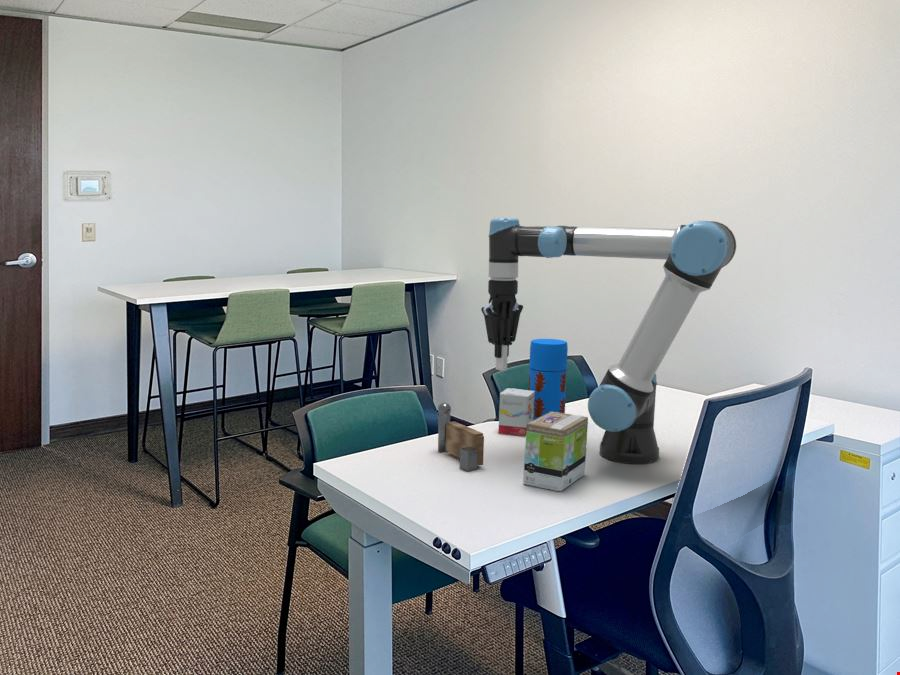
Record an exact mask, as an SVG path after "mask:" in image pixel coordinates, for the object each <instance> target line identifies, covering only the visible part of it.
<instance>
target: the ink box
mask: <svg viewBox="0 0 900 675" xmlns="http://www.w3.org/2000/svg"><path fill="white" fill-rule="evenodd" d="M534 397H535V391H530V390H529V389H521V388H520V389H519V388H511V387H510V388H509V387H507V388H505V389H504V390H503V391H501V392H500V393H499V406H498V408H499V410H498V434H500V435H508V434H512V435H511V436H518V437H526V429H527V423H529V422H531V421H533V415H534ZM501 433H502V434H501Z"/></svg>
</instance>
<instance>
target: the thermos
mask: <svg viewBox="0 0 900 675" xmlns="http://www.w3.org/2000/svg"><path fill="white" fill-rule="evenodd" d="M568 346H569V345H568V342H567V341H566V340H563V339H555V338H536V339H531V340H530V346H529V369H528V390H530V391H535V397H534V415H533V420H535V419H537V418H539V417H541V416H543V415H545V414H547V413H549V412H551V411H552V412H559V413H565V414H566V395H567V394H566V393H567V375H568V374H567V370H568V350H569V349H568Z"/></svg>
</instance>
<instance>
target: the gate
mask: <svg viewBox="0 0 900 675" xmlns="http://www.w3.org/2000/svg"><path fill="white" fill-rule="evenodd" d="M484 443H485V436H484V433H483V432H482V431H478V430H476V429H474V428H471V427H469V426H466V425H465V424H462V423H459V422H458V421H454V420H453V421H450V422H447V424H446V452H447V453H449V454H451V455H453V456H455V457H457V458H459V459H460V449H461V448H465V447H472V448H475V449H477V450H478V451H477V467H479V466H484V450H485V448H484V447H485V446H484V445H485V444H484Z"/></svg>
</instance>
